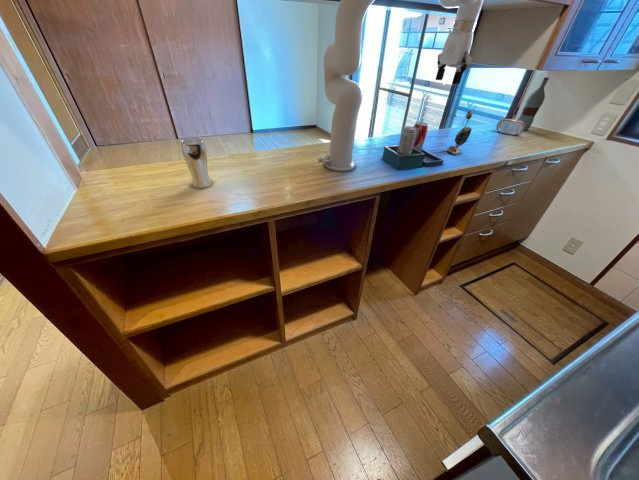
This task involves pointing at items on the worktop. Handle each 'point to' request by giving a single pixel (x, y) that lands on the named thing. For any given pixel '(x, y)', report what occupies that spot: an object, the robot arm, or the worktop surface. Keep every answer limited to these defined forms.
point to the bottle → (533, 105)
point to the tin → (510, 126)
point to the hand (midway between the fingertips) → (446, 81)
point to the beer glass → (196, 161)
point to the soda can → (420, 134)
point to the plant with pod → (461, 136)
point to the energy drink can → (406, 141)
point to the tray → (431, 159)
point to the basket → (403, 158)
